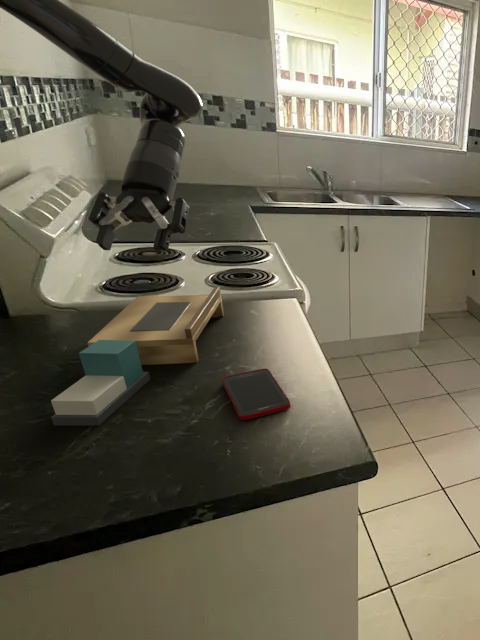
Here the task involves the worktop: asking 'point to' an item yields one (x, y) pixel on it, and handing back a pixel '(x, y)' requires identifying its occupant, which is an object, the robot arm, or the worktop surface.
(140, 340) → the shoe shelf
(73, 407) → the trainer
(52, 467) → the worktop surface
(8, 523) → the worktop surface
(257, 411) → the cell phone
